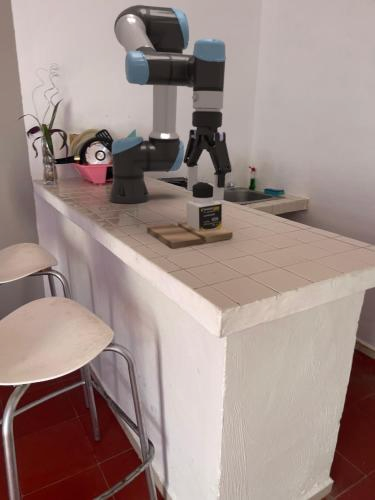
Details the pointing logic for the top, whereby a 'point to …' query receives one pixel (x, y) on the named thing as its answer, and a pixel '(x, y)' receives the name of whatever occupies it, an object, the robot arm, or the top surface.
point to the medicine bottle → (204, 209)
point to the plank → (208, 233)
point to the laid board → (174, 236)
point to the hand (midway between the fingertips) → (204, 195)
